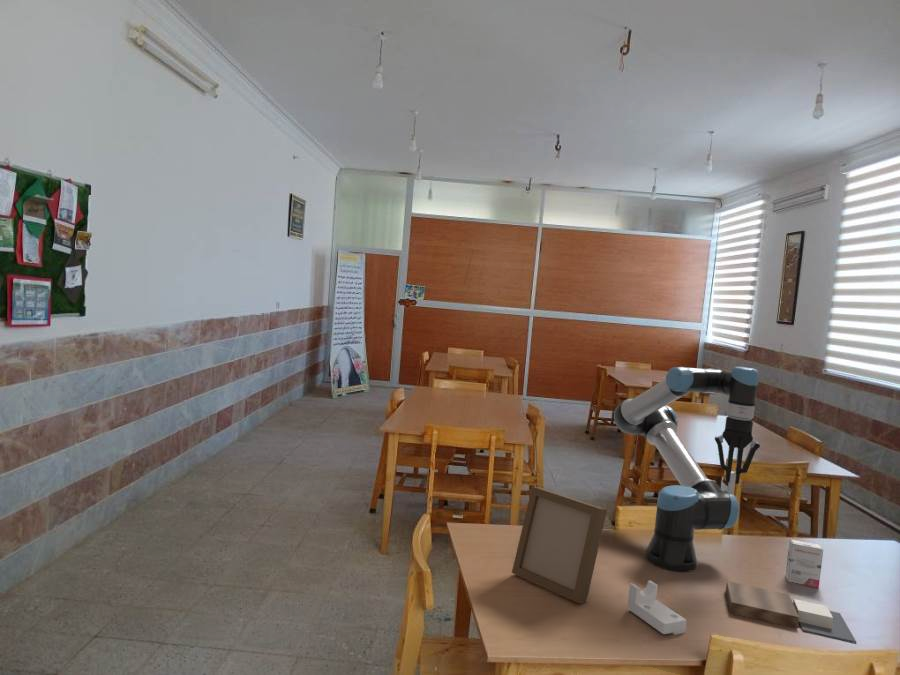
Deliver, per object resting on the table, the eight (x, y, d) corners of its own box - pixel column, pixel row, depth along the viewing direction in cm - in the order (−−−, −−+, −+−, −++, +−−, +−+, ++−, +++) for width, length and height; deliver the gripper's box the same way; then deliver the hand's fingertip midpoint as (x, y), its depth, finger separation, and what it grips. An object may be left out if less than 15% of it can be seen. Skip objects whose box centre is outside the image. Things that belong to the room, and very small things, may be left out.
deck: (730, 613, 169) (731, 602, 169) (725, 591, 182) (726, 581, 182) (797, 628, 164) (798, 617, 163) (787, 604, 177) (788, 594, 177)
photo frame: (577, 606, 165) (588, 512, 163) (511, 576, 179) (520, 489, 178) (606, 591, 176) (616, 502, 174) (541, 563, 190) (550, 481, 189)
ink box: (815, 581, 195) (820, 543, 194) (819, 588, 190) (824, 549, 189) (784, 575, 197) (788, 538, 197) (786, 581, 193) (791, 543, 192)
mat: (802, 631, 162) (802, 629, 162) (790, 603, 178) (791, 602, 178) (856, 643, 159) (856, 641, 159) (839, 614, 174) (839, 613, 174)
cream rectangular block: (797, 621, 167) (798, 610, 166) (792, 609, 173) (793, 598, 173) (831, 629, 164) (833, 617, 164) (825, 616, 171) (826, 606, 170)
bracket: (626, 611, 165) (629, 583, 164) (647, 608, 168) (650, 580, 168) (663, 638, 153) (666, 608, 153) (684, 633, 156) (688, 604, 156)
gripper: (717, 416, 192) (708, 492, 194) (765, 423, 188) (755, 500, 190) (716, 412, 199) (707, 486, 201) (761, 419, 195) (752, 493, 197)
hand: (730, 493), depth 195 cm, fingers closed
